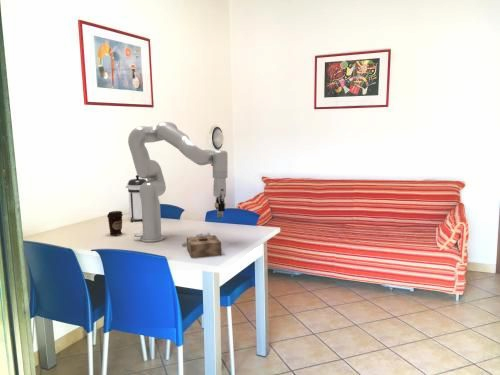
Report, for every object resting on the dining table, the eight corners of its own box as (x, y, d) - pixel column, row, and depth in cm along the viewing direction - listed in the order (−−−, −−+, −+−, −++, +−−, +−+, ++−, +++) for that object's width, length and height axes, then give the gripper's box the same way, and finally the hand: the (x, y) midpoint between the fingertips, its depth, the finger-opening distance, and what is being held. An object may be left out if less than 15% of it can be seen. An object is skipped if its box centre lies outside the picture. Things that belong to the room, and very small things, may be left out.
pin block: (191, 257, 185) (190, 244, 184) (187, 249, 198) (186, 237, 197) (221, 254, 189) (221, 242, 188) (215, 247, 202) (215, 235, 201)
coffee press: (139, 223, 259) (137, 176, 255) (122, 220, 268) (120, 175, 264) (159, 218, 273) (157, 174, 270) (143, 216, 282) (141, 173, 278)
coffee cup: (127, 233, 232) (126, 211, 231) (117, 236, 225) (115, 213, 223) (115, 232, 236) (114, 210, 234) (105, 235, 229) (103, 212, 227)
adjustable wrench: (185, 248, 203) (185, 244, 203) (175, 246, 206) (174, 243, 205) (211, 236, 225) (211, 233, 225) (201, 235, 228) (201, 232, 228)
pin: (215, 218, 206) (215, 204, 205) (213, 216, 211) (213, 202, 210) (226, 218, 208) (226, 203, 207) (224, 216, 213) (224, 202, 212)
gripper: (209, 173, 214) (209, 207, 216) (216, 176, 197) (216, 213, 200) (223, 173, 216) (223, 206, 218) (231, 176, 199) (231, 212, 202)
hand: (220, 209), depth 209 cm, fingers closed on pin, 5 cm apart
